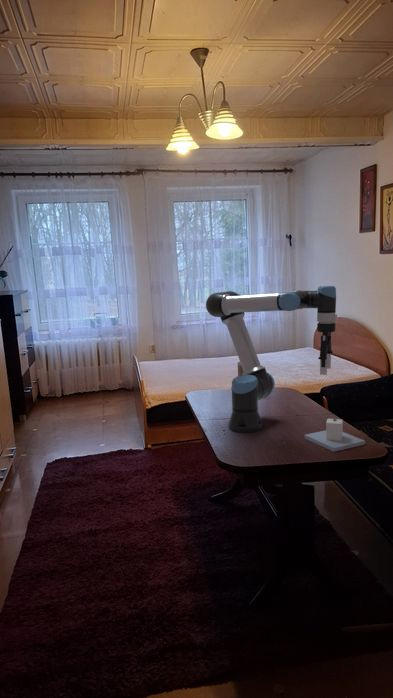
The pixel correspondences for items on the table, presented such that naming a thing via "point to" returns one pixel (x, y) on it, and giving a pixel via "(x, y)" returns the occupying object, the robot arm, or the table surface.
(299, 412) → the table surface
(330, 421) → the white box
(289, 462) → the table surface
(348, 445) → the plate
